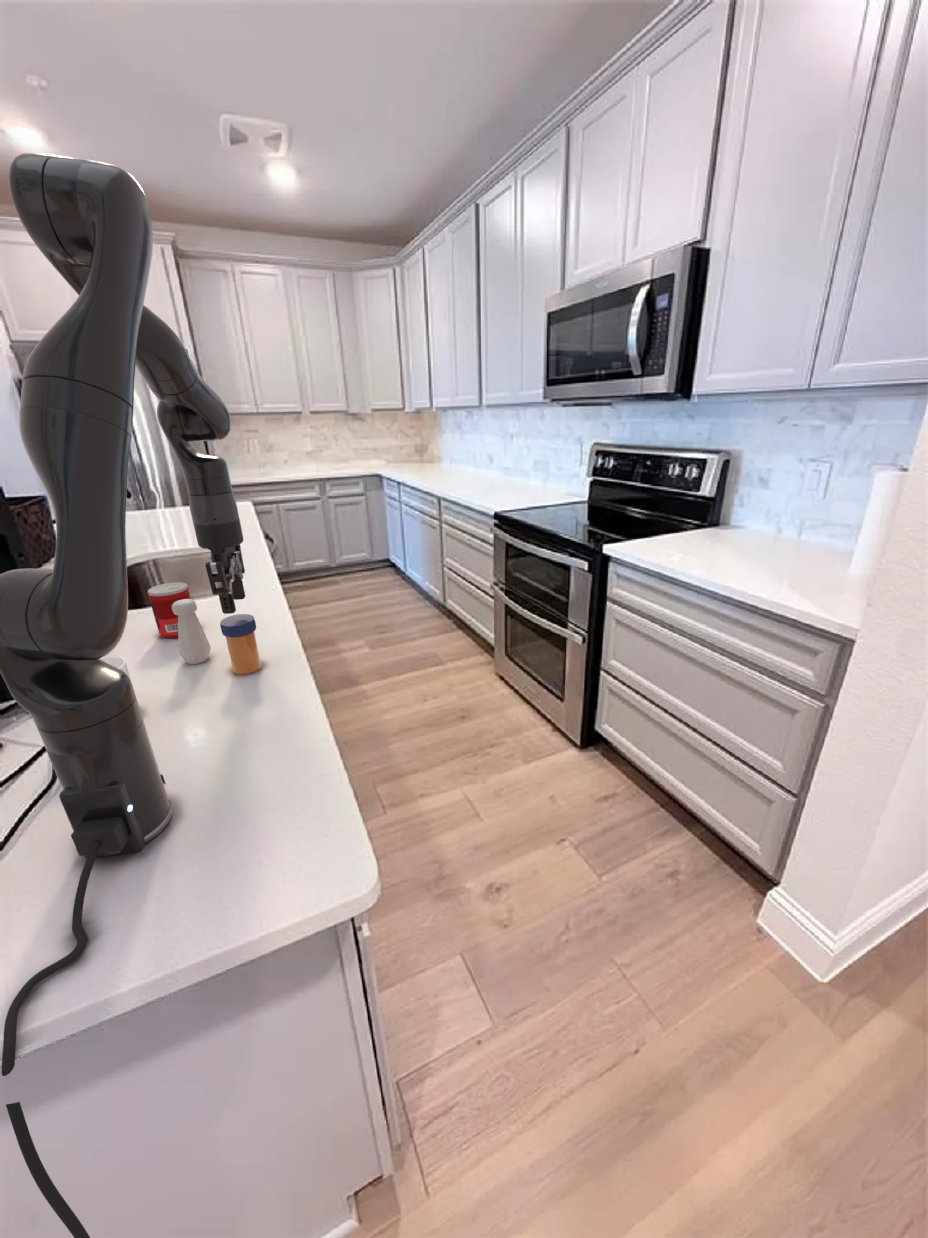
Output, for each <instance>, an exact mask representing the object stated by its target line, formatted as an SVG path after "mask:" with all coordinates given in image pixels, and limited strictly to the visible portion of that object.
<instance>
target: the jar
mask: <svg viewBox="0 0 928 1238" xmlns="http://www.w3.org/2000/svg"><path fill="white" fill-rule="evenodd" d="M225 640H226V645H227V650H228V654H229V658H230V663H231V668H232V671H233V672H232V673H234V674H235V675H249V674H252V673H256V672H257V671H259V670H260V669H261V668H262V663H261V659H260V653H259V647H258V643H257V642H258V641H257V637H256V632H255V631H254V632H252V633H250V634H248V635H245V636H241V637H226V636H225Z"/></svg>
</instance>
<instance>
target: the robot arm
mask: <svg viewBox="0 0 928 1238" xmlns="http://www.w3.org/2000/svg"><path fill="white" fill-rule="evenodd" d="M8 187H9V194H10V197H11V201H12V205H13V207H14V209H15V212H16V214H17V216H18V219H19V221H20V223H21V224H22V227H24V229H25V232H26V233H27V235H28V236H29V238H30V239H31V240H32V242H33V244H35V246H36V247H37V248H38V250H39V251H40V253H42V255H43V256H44V258H46V260H47V261H48V262H49V264H51V265H52V267H53V268H54V269H55V270H56V271H57V273H58V274H59V275H60V276H61V278H63V279H64V280H65V281H66V283H67V284H68V285H69V287H71V288H72V290H73V291H74V292H75V293H76V294H77V295H78V296H77V298H76V300H75V301H74V302H73V303H72V304H71V306H70V307H69V308H68V309H67V310H66V311H65V312H64V314H63V315H62V316H61V317H60V318H59V319H58V320H57V321H56V322H55V323H54V324H53V325H52V327H51V328H50V329H49V330H48V331H47V332H46V333H45V334H44V336H42V338H41V339H40V340H39V341H38V343H37V344H36V345H35V347H34V348H33V349H32V351H31V352H30V353H29V355H28V357H27V359H26V361H25V365H24V368H23V372H22V381H21V393H20V404H19V405H20V406H19V433H20V439H21V442H22V445H23V447H24V450H25V452H26V454H27V456H28V458H29V461H30V463H31V465H32V466H33V468H34V470H35V473H36V474H37V476H38V478H39V480H40V481H41V484H42V485H43V487H44V489H45V491H46V494H47V495H48V498H49V500H50V502H51V505H52V509H53V514H54V519H55V528H56V530H55V531H56V532H55V533H56V536H55V537H56V538H55V552H54V562H53V568H33V567H32V568H29V567H28V568H16V569H11V570H7V571H5V572H3V573H0V675H1V677H2V680H3V681H4V683H5V685H6V687H7V689H8V691H9V693H10V694H11V697H12V698H13V699H14V701H15V702H16V703H17V704H18V705H19V706H20V708H22V709H23V710H25V711H26V712H27V713H28V714H29V715H30V716H31V718H32V721H34V724H35V727H36V729H37V732H38V734H39V736H40V739H41V741H42V743H43V746H44V748H45V751H46V753H47V755H48V758H49V760H50V763H51V766H52V768H53V770H54V772H55V776H56V777H57V780H58V782H59V785H60V787H61V789H62V790H61V791H60V793H59V795H58V798H59V800H60V803H61V805H62V807H63V810H64V812H65V814H66V817H67V819H68V822H69V824H70V826H71V829H72V833H71V834H70V837H71V839H72V841H73V844H74V846H75V849H76V851H77V853H78V857H84V859H86V860H85V862H84V865H83V868H82V871H81V873H80V877H79V880H78V883H77V888H76V891H75V897H74V902H73V908H72V919H71V930H72V933H73V935H74V938H75V939H76V940H77V944H76V945H75V947H74V948H73V949H72V950H71V951H70V953H68V954H67V955H65V956H63V957H62V958H61V959H59V960H57V961H55V962H53V963H52V964H49V965H48V966H46V967H45V968H42V969H41V970H39V971H38V972H36V973H35V974H34V975H33V976H31V978H29V980H28V981H26V982H25V984H23V986H22V987H21V988H20V990H19V991H18V992H17V994H16V995H15V997H14V999H13V1000H12V1002H11V1004H10V1006H9V1008H8V1011H7V1013H6V1017H5V1021H4V1027H3V1042H2V1057H1V1076H2V1077H6V1076H8V1075H10V1074H11V1072H12V1071H13V1070H14V1067H15V1065H16V1049H17V1048H16V1047H17V1046H16V1045H17V1029H18V1028H17V1027H18V1026H17V1025H18V1017H19V1012H20V1010H21V1008H22V1006H23V1004H24V1002H25V1000H26V999H27V997H28V996H29V995H30V994H31V992H33V991H32V990H33V989H34V988H35V987H36V986H37V985H39V984H40V982H42V981H44V980H45V979H46V978H48V977H50V976H51V975H53V974H55V973H57V972H58V971H61V970H62V969H64V968H65V967H67V966H68V965H70V964H72V963H73V962H74V961H75V960H76V959H77V958H78V957H80V955H81V954H82V953H83V952H84V951H85V948H86V947H87V944H88V941H89V938H88V934H87V932H86V930H85V929H84V927H83V912H84V911H83V910H84V902H85V897H86V893H87V892H86V891H87V888H88V883H89V879H90V875H91V873H92V869H93V867H94V864H95V862H96V858H100V857H101V858H102V857H109V856H117V855H122V854H130V853H137V852H141V851H142V850H143V849H144V847H145V846H146V845H147V843H148V842H150V841H151V840H153V839H154V838H156V837H157V836H158V835H159V834H160V833H161V832H162V831H164V829H166V827H167V826H168V824H169V823H170V821H171V819H172V816H173V807H172V803H171V801H170V799H169V798H168V793H167V791H166V788H165V786H166V785H167V783H166V780H165V778H164V775H163V774H162V773H161V772H160V769H159V765H158V763H157V760H156V756H155V753H154V750H153V747H152V743H151V740H150V737H149V734H148V731H147V728H146V724H145V721H144V718H143V714H142V712H141V708H140V705H139V702H138V699H137V695H136V691H135V689H134V685H133V683H132V680H131V677H130V678H129V676H130V675H129V676H128V675H127V674H126V673H125V672H123V671H122V670H120V669H118V668H116V667H114V666H112V665H110V664H108V663H106V662H104V661H103V660H101V659H100V658H103V657H107V655H109V654H110V653H111V652H112V651H113V650H115V648H116V647H117V646H118V644H119V643H120V641H121V639H122V637H123V635H124V632H125V630H126V629H125V628H126V625H127V620H128V612H129V611H128V610H129V585H128V583H129V579H128V562H127V561H128V560H127V534H126V533H127V532H126V531H127V530H126V529H127V528H126V524H127V522H126V521H127V520H126V519H127V516H126V515H127V498H128V497H127V495H128V489H127V488H128V475H129V462H130V454H131V453H130V451H131V445H132V434H133V421H134V407H135V406H134V405H135V404H134V401H135V377H136V369H137V370H138V372H139V373H140V375H141V377H142V378H143V380H144V382H145V383H146V384H147V386H148V388H149V390H150V391H151V393H152V394H153V395H154V396H155V397H156V398H157V399H158V400H159V401H158V403H157V407H156V416H157V417H156V418H157V421H158V424H159V426H160V428H161V430H162V433H163V434H164V436H165V438H166V440H167V441H168V443H169V445H170V447H171V449H172V451H173V452H174V455H175V457H176V459H177V461H178V463H179V465H180V468H181V470H182V471H181V472H182V473H183V478H184V484H185V486H186V491H187V496H188V506H189V512H190V516H191V520H192V525H193V529H194V533H195V537H196V542H197V545H198V547H199V548H201V549H204V550H209V551H210V557H209V561H206V562H205V565H204V567H205V570H206V575H207V578H208V581H209V586H210V589H211V593H212V595H213V596H218V599H219V604H220V607H221V612H222V613H223V614H224V615H226V614H228V615H229V614H234V613H236V611H237V607H236V602H235V601H237V600H244V599H245V598H246V591H245V587H244V582H243V580H244V574H245V572H246V569H245V564H244V559H243V554H242V547H241V544H243V542H244V534H243V529H242V525H241V520H240V519H241V518H240V515H239V514H240V513H239V509H238V503H237V500H236V497H235V494H234V491H233V487H232V481H231V477H230V472H229V471H230V470H229V466H228V464H227V461H226V460H225V458H223V457H221V456H217V455H212V454H206V453H202V452H200V451H199V450H198V449H197V448H196V447H195V446H194V444H193V443H192V442H215V441H216V442H217V441H222V440H224V439H225V438H227V437H228V436H229V434H230V433H231V429H232V417H231V414H230V412H229V409H228V407H227V405H226V404H225V402H224V401H223V400H222V398H221V397H220V396H219V394H218V393H217V392H216V391H215V390H214V389H213V388H212V386H210V385H209V384H208V383H207V382H206V381H205V380H204V378H203V377H202V376H201V375H200V374H199V373H198V371H197V369H196V368H195V364H193V361H192V359H191V357H190V355H189V353H188V351H187V348H186V347H185V345H184V344H183V342H182V341H181V339H180V338H179V336H178V335H177V334H176V333H175V331H174V330H173V329H172V328H171V327H170V326H169V324H167V323H166V322H165V321H164V320H163V319H162V318H161V317H160V316H159V315H158V314H156V313H155V312H154V311H153V310H152V309H151V308H150V307H148V306H147V305H146V304H145V298H146V293H147V289H148V282H149V279H150V278H149V277H150V273H151V266H152V260H153V259H152V258H153V246H154V245H153V243H154V232H153V222H152V215H151V210H150V207H149V203H148V200H147V198H146V194H145V193H144V190H143V188H142V187H141V185H140V184H139V182H138V181H137V179H135V177H134V176H133V175H131V174H130V173H129V172H128V171H127V170H125V169H123V168H121V167H119V166H116V165H114V164H110V163H106V162H101V161H96V160H90V159H83V158H76V157H71V156H62V155H56V154H50V153H49V154H48V153H35V152H34V153H33V152H32V153H31V152H30V153H29V152H25V153H20V154H18V155H17V156H15V157H14V158H13V160H12V161H11V163H10V165H9V170H8ZM221 585H222V587H221ZM5 1107H6V1110H7V1113H8V1116H9V1120H10V1123H11V1126H12V1129H13V1132H14V1134H15V1138H16V1142H17V1144H18V1146H19V1149H20V1151H21V1155H22V1157H23V1159H24V1162H25V1164H26V1166H27V1168H28V1171H29V1173H30V1175H31V1177H32V1178H33V1180H34V1182H35V1184H36V1186H37V1187H38V1190H39V1191H40V1192H41V1194H42V1196H43V1198H44V1199H45V1200H46V1202H47V1203H48V1205H49V1206H50V1207H51V1209H52V1210H53V1211H54V1213H55V1214H56V1215H57V1217H58V1218H59V1219H60V1221H61V1222H62V1223H63V1225H64V1227H66V1229H67V1230H68V1231H69V1233H70V1234H71V1236H72V1237H73V1238H91V1236H90V1235H89V1233H88V1231H87V1230H86V1228H85V1227H84V1225H83V1224H82V1222H81V1221H80V1219H79V1218H78V1216H77V1215H76V1214H75V1212H74V1211H73V1210H72V1208H71V1206H70V1205H69V1204H68V1203H67V1201H66V1199H64V1197H63V1196H62V1194H61V1193H60V1191H59V1189H57V1187H56V1185H55V1184H54V1182H53V1180H52V1179H51V1177H50V1176H49V1174H48V1172H47V1170H46V1168H45V1166H44V1164H43V1162H42V1160H41V1158H40V1156H39V1154H38V1151H37V1148H36V1146H35V1143H34V1141H33V1138H32V1136H31V1133H30V1130H29V1127H28V1124H27V1120H26V1117H25V1114H24V1111H23V1107H22V1105H21V1102H20V1101H17V1102H12V1103H7V1104H5Z"/></svg>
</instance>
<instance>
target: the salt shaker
mask: <svg viewBox="0 0 928 1238" xmlns="http://www.w3.org/2000/svg"><path fill="white" fill-rule="evenodd" d="M172 610H173V613H174V614H175V615H178V638H177V639H178V653H179V656H180V657H181V658H182V659H183V661H184V662H186V664H188V665H197V664H201V663H204V662H206V661H207V660H208V659H209V657H210V653H211V649H212V647H211V644H210V642H209V639H208V637H207V636H206V633H205V631H204V629H203V627H202V624H201V623H200V621H199V618H198V615H197V614H196V611H197V610H198V605H197V603H196V601H195V600H193V599H192V598H191V599H182V600H178V601H176V602H174V603H173V605H172Z"/></svg>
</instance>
